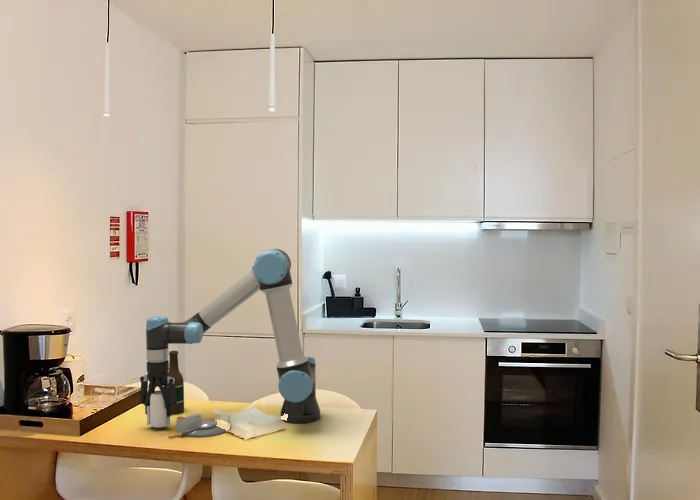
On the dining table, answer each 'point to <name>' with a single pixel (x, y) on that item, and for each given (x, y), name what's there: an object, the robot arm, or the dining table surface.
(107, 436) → the dining table surface
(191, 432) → the dial plate
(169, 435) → the small orange block
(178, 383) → the beer bottle
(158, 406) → the can
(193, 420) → the dial
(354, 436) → the dining table surface
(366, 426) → the dining table surface
